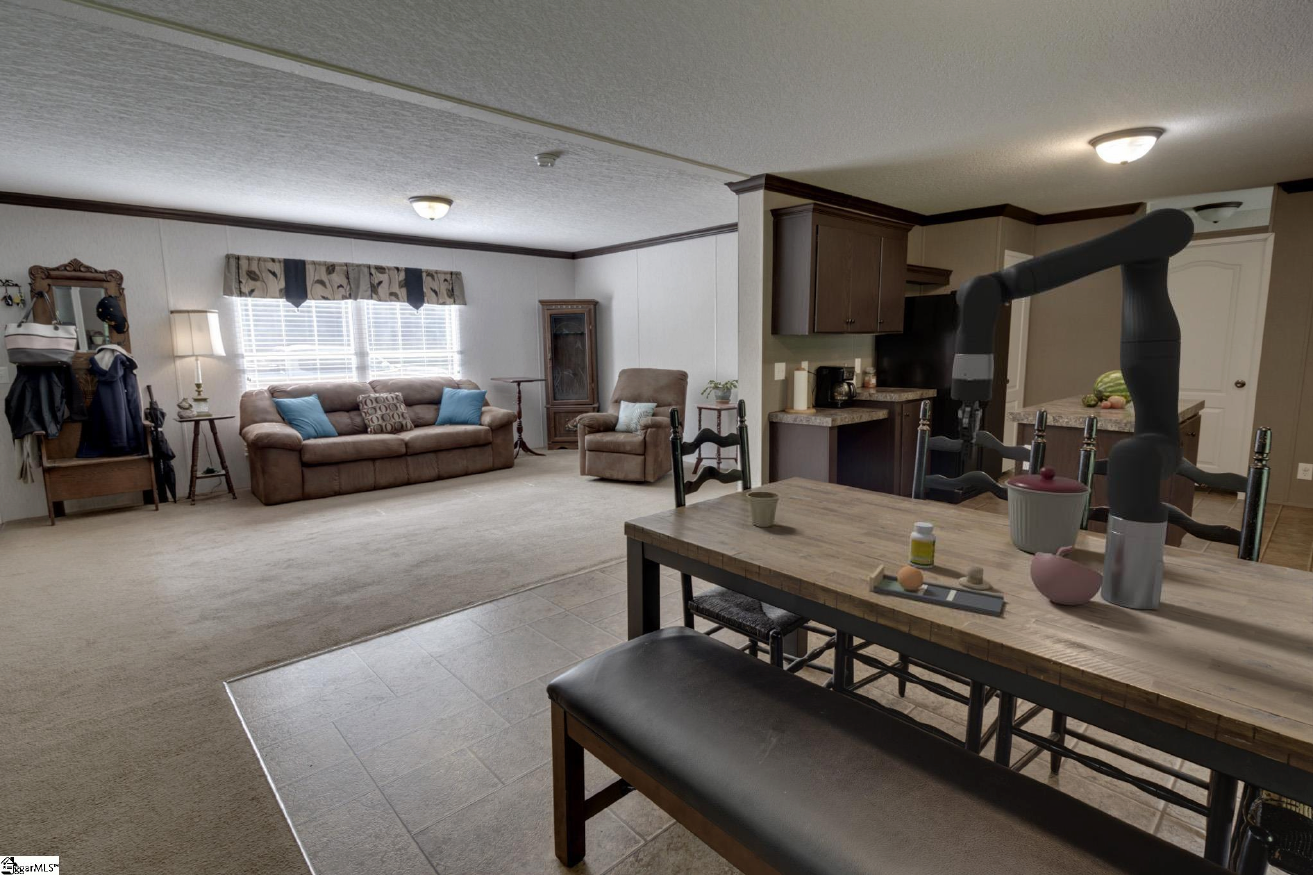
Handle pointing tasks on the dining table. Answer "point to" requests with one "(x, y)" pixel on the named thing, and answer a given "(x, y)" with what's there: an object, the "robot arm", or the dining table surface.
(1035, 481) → the canister
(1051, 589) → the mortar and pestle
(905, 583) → the ball
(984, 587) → the beige brimmed cylinder
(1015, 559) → the dining table surface
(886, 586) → the lane
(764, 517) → the flower pot
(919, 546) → the supplement bottle
